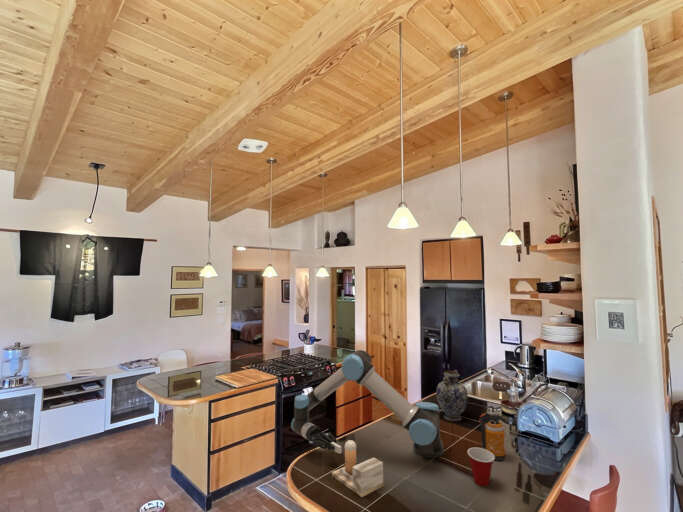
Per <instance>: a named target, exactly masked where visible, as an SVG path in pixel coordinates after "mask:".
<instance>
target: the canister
mask: <svg viewBox="0 0 683 512" xmlns="http://www.w3.org/2000/svg"><path fill="white" fill-rule="evenodd" d="M486 413H487V414H485V415H483V416H481V415H480V416H481V417H480V416H479V420H480V421H481V423H480V429H481V443H480V445H481V448H482V449H485V450H488V451H490V452H491V453H492V454H493V455H494V457H495V459H494V460H495V461H503V460H505V459H506V458H507V456H506V455H507V454H506V437H505V436H506V432H505V429H504V425H503V423H502V422H501V421H502V420H503V419H504V417H502V415H500V414H499V413H497V414H492V413H488V412H486ZM485 424H486V427H485Z"/></svg>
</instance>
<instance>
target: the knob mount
mask: <svg viewBox="0 0 683 512" xmlns="http://www.w3.org/2000/svg"><path fill="white" fill-rule="evenodd" d="M331 476H332V477H333V478H335V480H337V481H339V482H340V483H341V484H343V485H344V486H345V487H347V488H348V489H350V490H351V491H353V492H354V493H355V494H357V495H358V496H359V497H360V498H363V497H365V496H367V495H369V494H371V493H373V492H375V491H376V490H378V489H380V488H382V487H384V462H383V461H381V460H379V459H378V458H376V457H372V458H369V459H366V460H364V461H363V462H360V463H357V464H356V466H353V476H351V475H350V474H348V473H347V472H345V466H343V467H341V468H338V469H336V470H334V471H331Z"/></svg>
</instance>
